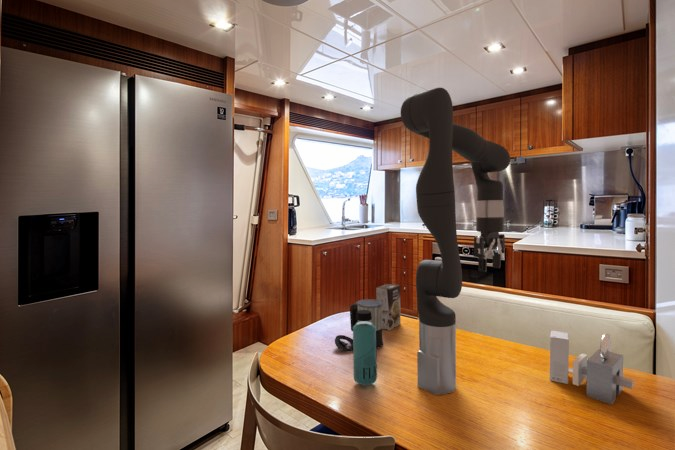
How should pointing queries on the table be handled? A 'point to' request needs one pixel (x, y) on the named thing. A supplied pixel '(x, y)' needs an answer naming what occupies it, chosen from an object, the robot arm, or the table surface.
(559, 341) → the skincare box
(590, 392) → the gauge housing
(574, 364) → the gauge plunger
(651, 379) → the table surface
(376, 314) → the milk frother
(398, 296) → the coffee box
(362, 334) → the beverage bottle
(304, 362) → the table surface
